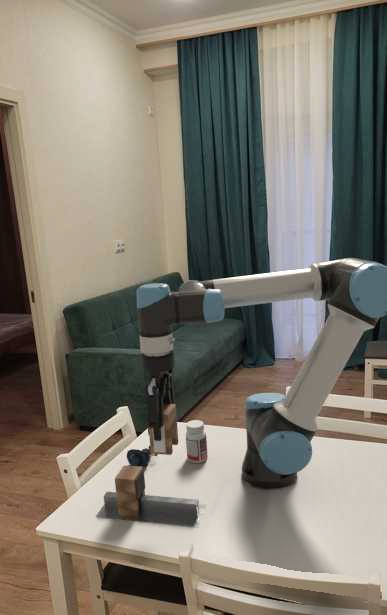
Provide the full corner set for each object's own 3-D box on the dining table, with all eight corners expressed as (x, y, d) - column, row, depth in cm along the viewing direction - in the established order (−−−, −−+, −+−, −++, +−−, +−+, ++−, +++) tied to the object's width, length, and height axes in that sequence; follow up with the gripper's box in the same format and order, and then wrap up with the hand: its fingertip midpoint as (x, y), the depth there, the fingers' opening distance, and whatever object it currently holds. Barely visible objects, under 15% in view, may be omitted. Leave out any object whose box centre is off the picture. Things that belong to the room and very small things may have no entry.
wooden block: (147, 502, 123) (144, 466, 121) (139, 517, 118) (135, 479, 116) (127, 500, 125) (123, 465, 123) (118, 515, 119) (114, 478, 117)
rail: (206, 507, 121) (205, 491, 120) (198, 531, 113) (197, 513, 112) (110, 499, 128) (108, 483, 127) (95, 520, 119) (93, 504, 118)
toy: (164, 441, 152) (146, 451, 137) (164, 464, 151) (146, 477, 137) (140, 439, 154) (119, 449, 140) (139, 462, 153) (119, 474, 139)
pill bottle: (204, 452, 149) (202, 417, 147) (209, 461, 143) (207, 426, 141) (185, 455, 148) (182, 420, 146) (189, 465, 142) (187, 429, 140)
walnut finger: (178, 442, 118) (175, 404, 116) (171, 455, 112) (168, 414, 110) (157, 441, 119) (154, 403, 117) (149, 453, 114) (145, 413, 112)
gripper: (159, 365, 101) (167, 466, 106) (184, 340, 119) (190, 427, 124) (126, 364, 103) (135, 463, 108) (155, 340, 121) (162, 426, 125)
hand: (164, 444), depth 116 cm, fingers closed on walnut finger, 6 cm apart
